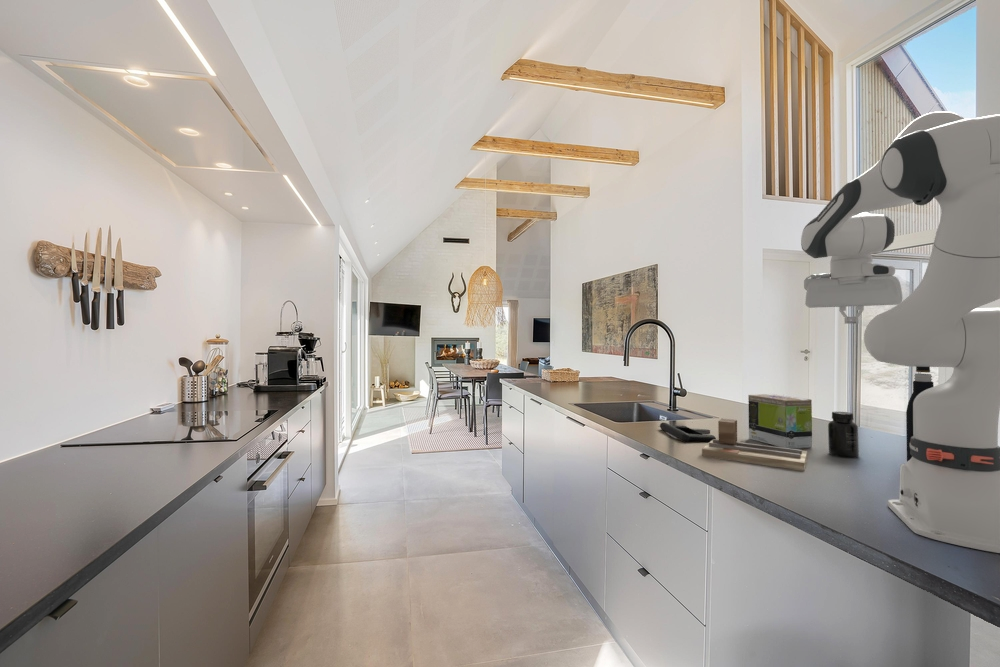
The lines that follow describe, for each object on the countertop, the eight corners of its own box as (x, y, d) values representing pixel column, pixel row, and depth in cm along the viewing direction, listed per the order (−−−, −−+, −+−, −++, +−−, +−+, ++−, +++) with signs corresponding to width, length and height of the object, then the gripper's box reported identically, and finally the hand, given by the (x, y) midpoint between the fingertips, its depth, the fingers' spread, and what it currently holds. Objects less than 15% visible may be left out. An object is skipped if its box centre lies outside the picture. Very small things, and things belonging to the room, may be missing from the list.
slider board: (804, 470, 112) (804, 458, 112) (702, 455, 126) (701, 445, 126) (807, 458, 123) (807, 447, 123) (712, 445, 137) (712, 436, 137)
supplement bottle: (857, 453, 127) (856, 411, 127) (860, 459, 121) (860, 415, 121) (827, 450, 131) (826, 409, 131) (829, 456, 125) (828, 413, 125)
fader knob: (734, 448, 125) (733, 422, 125) (718, 446, 128) (718, 421, 128) (737, 444, 129) (737, 419, 129) (722, 442, 132) (721, 418, 132)
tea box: (813, 447, 134) (813, 398, 134) (785, 450, 132) (785, 400, 132) (773, 436, 149) (772, 392, 149) (747, 438, 147) (747, 393, 147)
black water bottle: (944, 475, 107) (943, 351, 107) (908, 471, 111) (907, 350, 111) (939, 469, 112) (938, 350, 112) (905, 464, 116) (904, 350, 116)
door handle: (700, 423, 162) (656, 421, 162) (729, 436, 142) (679, 433, 142) (699, 432, 162) (655, 430, 162) (729, 446, 142) (679, 444, 142)
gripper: (803, 273, 122) (803, 324, 122) (903, 266, 110) (903, 322, 110) (804, 276, 127) (804, 324, 127) (900, 269, 115) (900, 322, 115)
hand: (851, 323), depth 119 cm, fingers closed
